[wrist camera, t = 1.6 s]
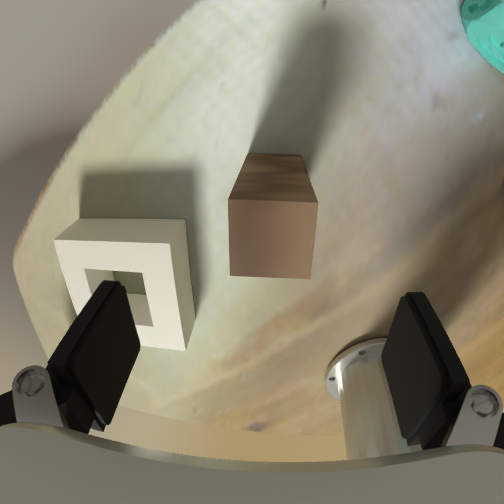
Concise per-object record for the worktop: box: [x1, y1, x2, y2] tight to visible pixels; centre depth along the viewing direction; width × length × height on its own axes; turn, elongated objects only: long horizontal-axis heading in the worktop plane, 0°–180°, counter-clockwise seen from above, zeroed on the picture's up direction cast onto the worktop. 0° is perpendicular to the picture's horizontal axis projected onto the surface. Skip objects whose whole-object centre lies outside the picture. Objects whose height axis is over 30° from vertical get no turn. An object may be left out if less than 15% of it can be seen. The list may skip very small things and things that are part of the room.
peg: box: [228, 153, 318, 279], centre depth 22 cm, size 4×4×12 cm
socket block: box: [54, 218, 196, 351], centre depth 30 cm, size 12×12×5 cm
